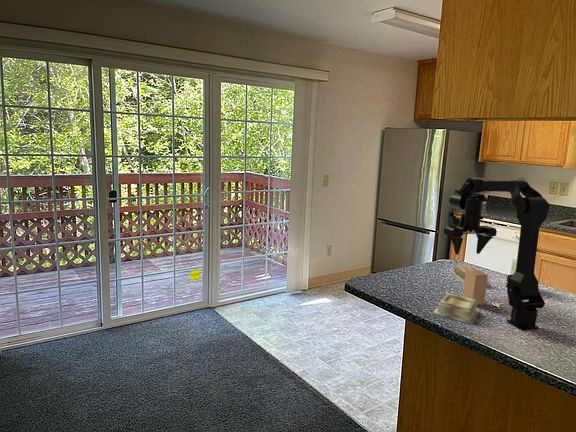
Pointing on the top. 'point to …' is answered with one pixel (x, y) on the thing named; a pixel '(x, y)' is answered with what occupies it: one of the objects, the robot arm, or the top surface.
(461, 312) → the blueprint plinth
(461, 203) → the robot arm
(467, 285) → the column block
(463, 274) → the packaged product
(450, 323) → the top surface
